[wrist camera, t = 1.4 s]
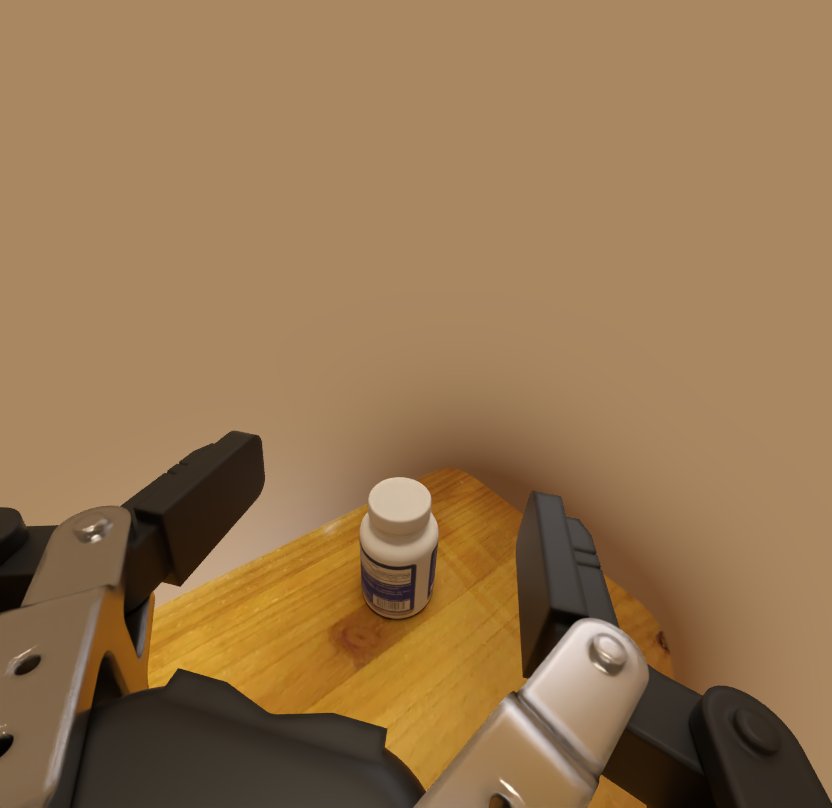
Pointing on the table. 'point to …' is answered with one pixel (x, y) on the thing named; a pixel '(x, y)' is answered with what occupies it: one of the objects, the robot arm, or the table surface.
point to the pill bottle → (398, 548)
